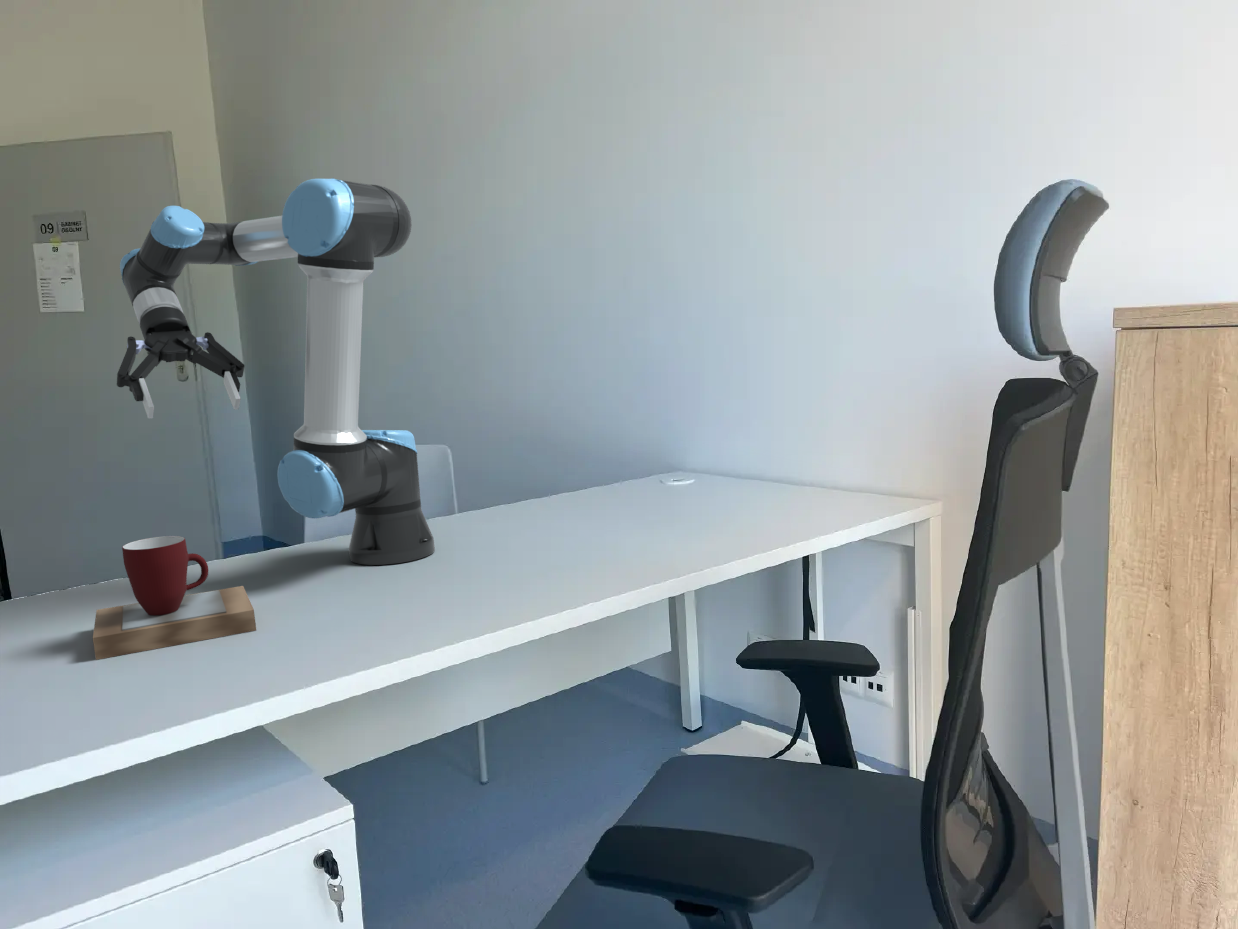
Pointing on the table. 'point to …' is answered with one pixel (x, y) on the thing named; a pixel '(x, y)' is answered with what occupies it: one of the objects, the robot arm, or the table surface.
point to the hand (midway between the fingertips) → (195, 408)
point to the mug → (160, 572)
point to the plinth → (172, 623)
